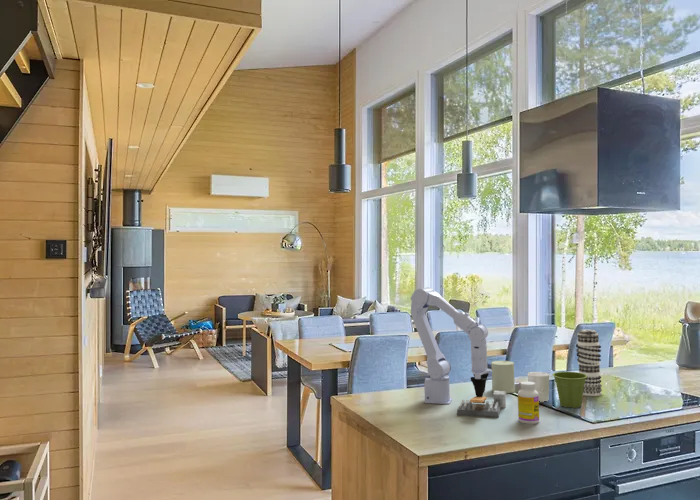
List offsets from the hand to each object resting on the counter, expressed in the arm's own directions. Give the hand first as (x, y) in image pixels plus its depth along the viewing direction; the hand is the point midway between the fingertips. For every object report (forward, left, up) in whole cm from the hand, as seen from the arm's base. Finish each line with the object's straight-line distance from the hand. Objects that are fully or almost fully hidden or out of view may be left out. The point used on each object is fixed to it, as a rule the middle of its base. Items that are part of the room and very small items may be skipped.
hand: (480, 394), depth 210 cm
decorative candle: (+39, +28, -4) cm, 49 cm away
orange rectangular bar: (0, -10, 0) cm, 10 cm away
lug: (+7, 0, -4) cm, 8 cm away
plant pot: (+31, +7, -4) cm, 33 cm away
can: (+6, +26, -4) cm, 27 cm away
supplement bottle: (+17, -17, -4) cm, 25 cm away
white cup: (+20, +13, -4) cm, 25 cm away
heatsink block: (0, -10, -4) cm, 11 cm away
